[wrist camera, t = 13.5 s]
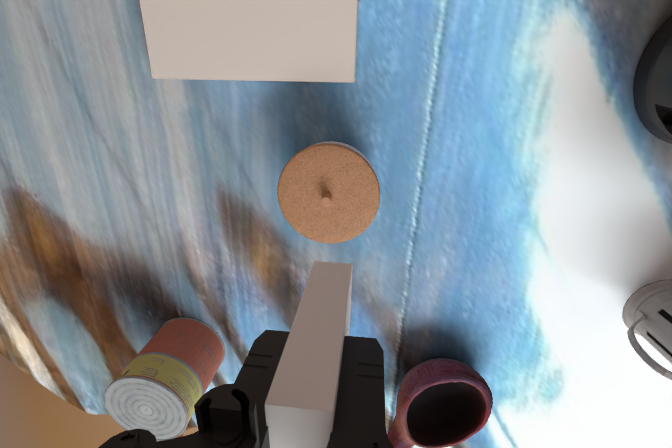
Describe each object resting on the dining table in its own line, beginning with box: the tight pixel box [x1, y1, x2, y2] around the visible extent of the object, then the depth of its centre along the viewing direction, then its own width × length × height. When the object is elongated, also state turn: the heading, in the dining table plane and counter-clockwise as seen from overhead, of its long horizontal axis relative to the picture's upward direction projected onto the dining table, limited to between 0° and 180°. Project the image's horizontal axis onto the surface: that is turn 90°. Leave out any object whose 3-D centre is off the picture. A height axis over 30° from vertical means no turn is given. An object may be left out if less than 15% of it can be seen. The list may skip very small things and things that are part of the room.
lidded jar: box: [277, 141, 380, 243], centre depth 38 cm, size 11×11×9 cm
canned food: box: [104, 317, 225, 441], centre depth 50 cm, size 11×11×12 cm
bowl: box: [387, 358, 493, 448], centre depth 49 cm, size 16×13×8 cm
